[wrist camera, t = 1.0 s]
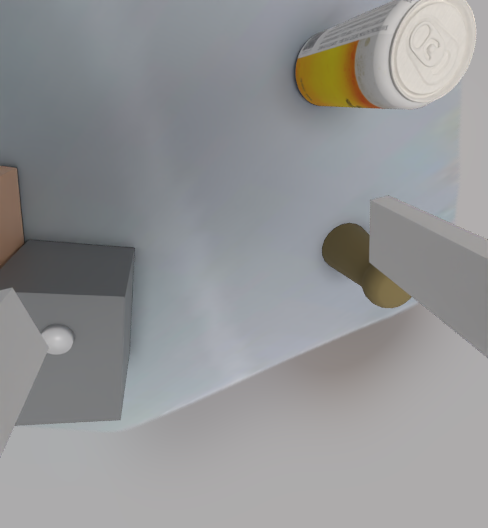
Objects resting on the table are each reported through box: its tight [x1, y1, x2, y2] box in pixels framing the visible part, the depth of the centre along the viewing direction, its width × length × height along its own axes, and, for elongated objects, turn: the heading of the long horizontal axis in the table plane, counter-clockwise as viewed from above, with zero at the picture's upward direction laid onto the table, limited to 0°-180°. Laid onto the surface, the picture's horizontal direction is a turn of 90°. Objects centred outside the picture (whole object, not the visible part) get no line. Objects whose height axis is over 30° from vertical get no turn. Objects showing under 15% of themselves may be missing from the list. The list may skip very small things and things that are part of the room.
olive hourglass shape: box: [322, 223, 412, 308], centre depth 36 cm, size 6×6×11 cm
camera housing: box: [0, 240, 135, 426], centre depth 33 cm, size 16×10×11 cm, turn 170°
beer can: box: [295, 0, 476, 110], centre depth 25 cm, size 6×6×15 cm
